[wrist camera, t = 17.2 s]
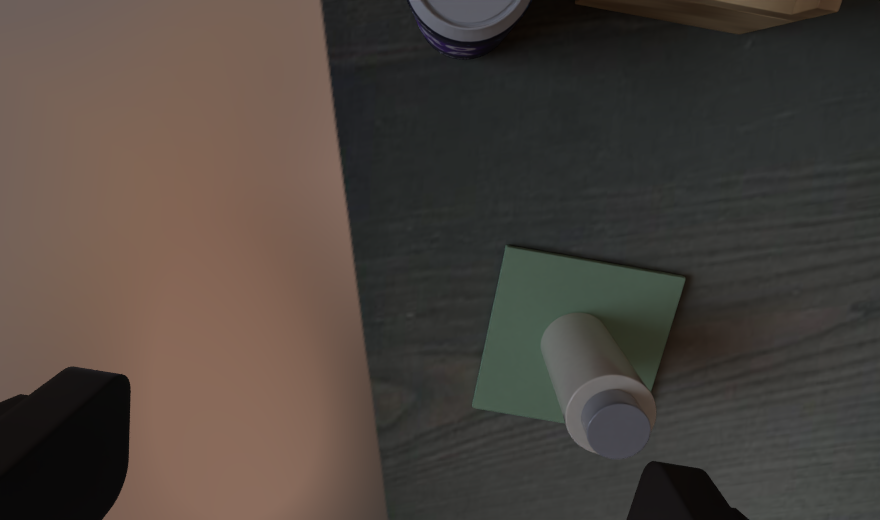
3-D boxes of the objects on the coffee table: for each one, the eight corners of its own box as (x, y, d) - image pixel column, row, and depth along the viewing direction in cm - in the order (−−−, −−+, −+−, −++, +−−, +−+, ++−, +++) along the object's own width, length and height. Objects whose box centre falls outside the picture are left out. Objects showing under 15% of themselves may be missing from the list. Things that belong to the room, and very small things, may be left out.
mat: (472, 403, 41) (472, 408, 40) (506, 244, 37) (506, 246, 37) (635, 431, 41) (637, 435, 40) (683, 275, 38) (686, 278, 37)
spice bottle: (533, 370, 39) (561, 465, 29) (548, 306, 38) (583, 381, 28) (601, 382, 39) (652, 479, 29) (619, 318, 38) (679, 398, 28)
